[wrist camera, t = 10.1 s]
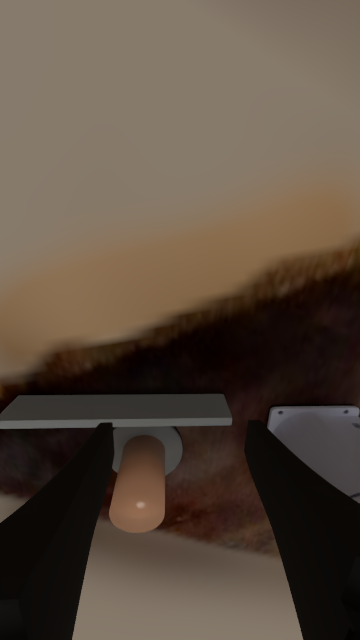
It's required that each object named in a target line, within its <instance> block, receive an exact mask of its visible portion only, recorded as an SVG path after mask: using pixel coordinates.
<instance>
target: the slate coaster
mask: <svg viewBox="0 0 360 640" xmlns="http://www.w3.org/2000/svg"><path fill="white" fill-rule="evenodd" d="M139 435H149V436H153V437H155V438H157V439H159V440H160V441H161V442H162V443H163V445H164V447H165V475H167V474H169V473H170V472H171V471H173V470H174V469H175V468H176V466H177V465H178V464H179V462H180V460H181V457H182V451H183V450H182V439H181V436H180V433H179V432H178V430H177V429H176V427H175V426H150V427H114V428H113V437H114V452H115V454H114V460H113V465H112V468H113V469H114V470H115V471H116V472H117V473H118V470H119V466H120V461H121V457H122V452H123V448H124V445H125V444H126V443H127V441H128V440H130V439H131V438H133V437H135V436H139Z"/></svg>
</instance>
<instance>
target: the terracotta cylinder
mask: <svg viewBox="0 0 360 640" xmlns="http://www.w3.org/2000/svg"><path fill="white" fill-rule="evenodd" d="M164 514H165V447H164V445H163V443H162V442H161V441H160V440H159V439H157V438H155V437H153V436H149V435H139V436H135V437H133V438H131V439H130V440H128V441H127V443H126V444H125V445H124V448H123V452H122V457H121V461H120V466H119V470H118V475H117V480H116V484H115V489H114V493H113V498H112V502H111V507H110V511H109V516H110V520H111V522H112V523H113V524H114V525H115V526H116V527H117V528H119V529H121V530H123V531H126V532H130V533H143V532H147V531H150V530H152V529H154V528H156V527H157V526H158V525H159V524H160V523H161V522H162V521H163V519H164Z"/></svg>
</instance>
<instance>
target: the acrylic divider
mask: <svg viewBox="0 0 360 640" xmlns="http://www.w3.org/2000/svg"><path fill="white" fill-rule="evenodd" d="M104 422H112V423H113V427H150V426H215V425H232V416H231V413H230V410H229V408H228V405H227V402H226V400H225V397H224V394H142V395H19V396H18V397H17V398H16V399H15V400H14V401H13V402H12V403H11V404H10V405H9V406H8V407H7V408H6V409H5V410H4V411H3V412H2V413H1V414H0V429H18V428H84V427H97V426H98V424H100V423H104Z"/></svg>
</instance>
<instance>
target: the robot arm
mask: <svg viewBox="0 0 360 640" xmlns="http://www.w3.org/2000/svg"><path fill="white" fill-rule="evenodd" d="M279 411H281V412H279ZM358 414H359V408H357V407H356V406H284V407H272V408H271V409H270V413H269V419H268V425H267V427H266V426H265V425H264V424H263V423H262V422H261V421H260V420H248V428H247V435H246V442H245V450H244V451H245V455H246V459H247V463H248V466H249V470H250V473H251V475H252V478H253V481H254V483H255V486H256V488H257V491H258V493H259V496H260V498H261V501H262V503H263V506H264V508H265V511H266V513H267V516H268V518H269V521H270V524H271V527H272V529H273V533H274V536H275V539H276V542H277V546H278V549H279V552H280V555H281V559H282V562H283V566H284V569H285V573H286V576H287V580H288V583H289V587H290V591H291V594H292V598H293V602H294V605H295V609H296V612H297V617H298V620H299V624H300V628H301V632H302V636H303V640H360V418H359V417H358ZM114 454H115V452H114V437H113V423H112V422H104V423H100V424H98V426H97V427H96V428H95V430H94V431H93V432H92V434H91V435H90V436H89V438H88V439H87V440H86V441H85V443H84V444H83V445H82V446H81V447H80V449H79V450H78V451H77V452H76V453H75V454H74V456H73V457H72V458H71V459H70V460H69V461H68V462H67V463H66V464H65V466H64V467H63V468H62V469H61V470H60V471H59V472H58V473H57V474H56V475H55V476H54V477H53V478H52V479H51V480H50V481H49V482H48V483H47V484H46V485H45V486H44V487H43V488H42V489H41V490H40V491H38V492H37V493H36V494H35V495H34V496H33V497H32V498H31V499H29V500H28V501H27V502H26V503H25V504H24V505H22V506H21V507H20V508H19V509H18V510H16V511H15V512H14V513H13V514H12V515H10V516H9V517H8V518H6V519H5V520H4V521H2V522H1V523H0V640H72V636H73V631H74V625H75V621H76V615H77V610H78V605H79V600H80V594H81V589H82V585H83V580H84V575H85V570H86V565H87V561H88V555H89V551H90V547H91V541H92V537H93V533H94V529H95V526H96V523H97V519H98V516H99V513H100V509H101V506H102V502H103V499H104V496H105V492H106V489H107V486H108V482H109V479H110V475H111V470H112V465H113V460H114Z"/></svg>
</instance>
